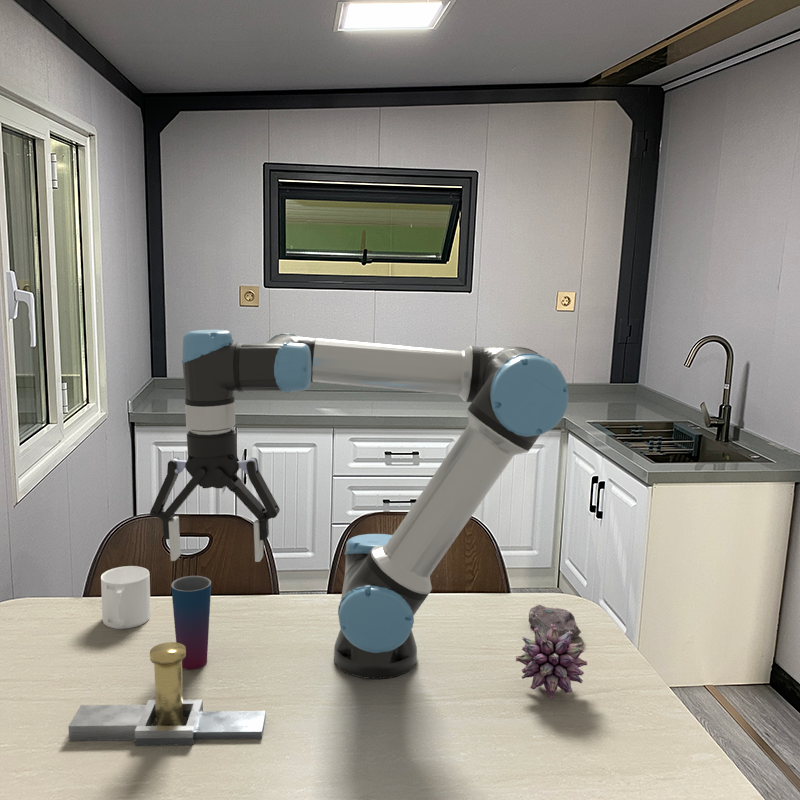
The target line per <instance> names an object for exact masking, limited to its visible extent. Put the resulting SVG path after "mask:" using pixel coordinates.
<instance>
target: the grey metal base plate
mask: <svg viewBox="0 0 800 800" xmlns="http://www.w3.org/2000/svg"><path fill="white" fill-rule="evenodd" d="M266 717H267V716H266V710H210V711H209V710H207V711H206V710H204V700H203V698H201V699H200V698H199V699H198V698H197V699H183V719H184V718H186V719H188V720H187V722H186V725H183V726H156V725H153V724H154V722H155V720H156V707H155V699H148V701H147V703H146V704H80V706H79V708H78V709H77V711H76V713H75V714H74V716H73V718H72V720H71V721H70V723H69V725H68V726H67V727H68V741H69V742H76V741H80V742H81V741H83V742H85V741H87V742H90V741H92V742H93V741H94V742H95V741H134V742H135V744H134V746H136V747H139V746H141V747H142V746H144V747H145V746H193V745H194V742H195V740H256V739H257V740H262V739H263V734H264V730H265V729H264V728H265V723H266Z"/></svg>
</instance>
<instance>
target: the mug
mask: <svg viewBox="0 0 800 800" xmlns="http://www.w3.org/2000/svg"><path fill="white" fill-rule="evenodd" d="M150 581H151V580H150V571H149V569H147V568H145V567H142V566H137V565H126V566H119V567H113V568H111V569H108V570H106V571H104V572H103V573H102V574H101V576H100V586H101V587H100V588H101V589H100V590H101V611H102V612H101V614H102V617H101V618H102V622H103V624H104V626H106V627H108V628H110V629H116V630H117V629H118V630H124V629H132V628H135V627H139V626H141V625H144V624H145V623H147V622H148V621H149V620H150V619H151V618H150V617H151V582H150Z"/></svg>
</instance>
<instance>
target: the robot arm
mask: <svg viewBox="0 0 800 800" xmlns="http://www.w3.org/2000/svg"><path fill="white" fill-rule="evenodd" d="M232 336H233V335H232V333H231V332H230V330H225V329H197V330H192V331H191V330H190V331H188V332H186V333H185V334H184V335H183V338H182V360H181V364H182V370H183V371H182V372H183V385H184V386H183V387H184V407H185V427H186V429H188V431H187V433H186V443H187V445H186V446H187V459H186V460H185V459H180V458H179V457H177V456H175V457H173V458H171V460H169V461H168V462H167V469H166V473H167V474H166V475H165V476H166V477H165V479H164V480H163V483H162V484H161V487H160V489H159V492H158V493H157V495H156V498H155V500H154V503H153V505H152V507H151V509H150V511H149V516H151V517H152V518H159V519H161V521H162V529H163V530H162V531H163V538H164V540H169V551H170V552H169V554H170V555H169V556H170V561H171V562H175V561H177V560H178V559H179V557H180V556H181V553H182V552H181V549H182V548H181V536H180V535H181V534H180V518H179V515H178V516H174V515H175V514H176V512H178V510H179V509H180V507H181V506H182V504H183V503H184V502H185V501H186V500H187V499H188V497H189V496H190V495H191V494H192V493H193V492H194V490H195V489H196V488H197V486H199V487H202V489H210V488H215V489H223V488H225V487H226V488H227V489H228V490H229V491H231V492H232V493H233V494H234V495H235V496H236V497H237V498H238V499H239V501H241V502H242V504H243V505H244V506H245V507H246V508H247V510H249V511H250V512H251V513H252V514H253V516H254V517H255V520H254V521H253V541H254V562H257V563H260V562H261V561H262V559H263V558H264V541H267V539H268V538H269V534H270V530H269V529H270V527H269V523H270V522H269V520H270V519H275V518H276V517H277V516H278V515H279V513H280V506H279V505H278V503H277V501H276V499H275V497H274V496H273V494H272V492H271V490H270V488H269V487H268V484H267V483H266V481H265V479H264V477H263V475H262V474H261V472H260V469H259V463H258V462H259V461H258V459H257V457H251V458H250V459H246V460H245V459H244V460H239V458H238V453H237V451H238V450H237V431H236V430H235V428H234V427H235V426H236V406H235V404H236V403H235V392H239V393H243V392H268V393H269V392H270V393H271V392H273V393H275V392H276V393H277V392H279V393H281V392H283V393H287V394H289V393H291V392H303V391H307V390H308V389H309V388H310V387H311V383H322V384H323V383H324V384H335V385H346V386H357V387H365V388H376V389H377V388H378V389H390V390H398V391H399V390H400V391H408V392H409V391H410V392H420V393H421V392H422V393H431V394H442V395H444V394H445V395H451V396H452V395H453V396H454V395H455V396H459V398H460V399H462V401H463V402H466V403H470V405H468V408H467V409H466V415H467V419H468V424H467V426H466V427H465V429H464V430H463V431H462V434H461V435H460V437H459V438H458V439H457V440H456V442H455V443H454V445H453V447H452V448H451V449H450V451H449V453H448V454H447V455H446V457H445V458H444V460H443V461H442V462H441V464H440V465H439V467H438V468H437V470H436V471H435V473H434V474H433V475H432V477H431V478H430V480H429V482H428V483H427V485H426V486H425V487H424V488H423V491H422V492H421V493H420V494H419V496H418V498H417V499H416V501H415V502H414V503H413V505H412V506H411V508H410V509H409V511H408V512H407V513H406V515H405V516H404V517H403V519H402V521H401V523H400V524H399V525H398V527H397V528H396V530H395V531H394V533H393V534H387V533H366V534H359V535H356V536H353V537H351V538H349V539H348V540H346V544H345V551H344V555H345V565H344V567H345V568H344V570H345V571H344V578H343V583H342V592H341V599H340V602H339V605H338V608H337V609H338V610H337V615H338V620H339V621H338V622H339V626H340V629H339V631H338V634H337V638H336V640H335V643H334V647H333V660H334V663H335V664H336V666H337V667H338V668H339V669H340V670H342V671H343V672H345V673H347V674H349V675H351V676H355V677H359V678H363V679H373V680H375V679H377V680H378V679H390V678H394V677H397V676H400V675H403V674H405V673H407V672H409V671H410V670H411V669H413V667H414V666H415V665H416V664H417V660H418V659H417V656H418V646H417V642H416V639H415V636H414V633H413V627H414V624H415V623H414V622H415V618H414V616H415V615H416V613H417V612H418V610H419V609H420V607H421V606H422V605H423V603H424V601H426V599H427V598H428V596H429V595H430V593H431V592H432V588H433V587H432V582H431V575H432V573H433V572H434V571H435V569H436V568H437V566H438V565H439V563H440V562H441V560H442V559H443V558H444V556H445V555H446V554H447V552H448V551H449V549H450V548H451V547H452V545H453V543H454V542H455V541H456V539H457V537H459V534H460V533H461V532H462V530H463V529H464V527H465V526H466V525H467V524H468V522H469V521H470V519H471V517H472V516H473V515H474V514H475V512H476V510H477V509H478V507H480V505H481V503H482V502H483V500H484V499H485V497H486V496H487V495H488V493H490V491H491V489H492V488H493V486H494V485H495V483H496V482H497V480H498V479H499V478H500V476H501V475H502V473H503V472H504V471H505V469H506V467H507V466H508V465H509V463H510V462H511V460H512V459H513V457H514V456H517V455H521V454H526V453H529V452H530V450H531V449H532V447H533V446H534V444H535V443H536V442H537V440H538V439H539V438H540V436H541V435H543V434H545V433H547V432H550V431H551V430H552V429H554V428H555V427H556V426H557V425H558V424H559V423H560V421H562V419H563V417H564V415H565V413H566V411H567V408H568V405H569V396H570V395H569V388H568V383H567V381H566V379H565V377H564V375H563V373H562V371H561V370H560V369H559V367H558V366H557V365H556V364H555V363H554V362H553V361H551V360H550V358H546V357H545V356H542V355H541V354H539V353H538V352H536V351H535V350H533V349H531V348H527V347H523V346H495V347H494V346H474V345H468V346H467V347H466V348H464V349H463V350H455V349H454V350H452V349H443V348H442V349H440V348H430V347H429V348H428V347H422V346H421V347H417V346H407V345H398V344H386V343H374V342H366V341H365V342H363V341H362V342H361V341H352V340H342V339H340V340H339V339H330V338H321V337H319V338H318V337H317V338H316V337H315V338H314V337H307V336H305V337H304V336H299V335H296V334H294V333H280V334H276V335H274V336H273V337H271V338H270V339H269V340H267V342H259V343H257V342H254V343H252V342H251V343H242V342H241V343H239V342H234V339H233V337H232ZM184 469H186V471H187V473H188V474H189V475H190V476H191V479H190V480H189V481H188V483H187V484H186V485H185V486H184V488H183V489H182V490H181V491H180V492H179V494H178V495H177V496H176V497H175V499H174V500H173V501H172V503H170V505H169V506H168V507H167V508H165V506H166V503H167V502H168V499H169V497H170V495H171V493H172V490H173V488H174V486H175V484H176V482H177V478H178V477H179V475H180V474H181V473H182V472H183V470H184ZM240 469H241V470H242V471H243V473H244V474H246V475H247V476H248V479H249V481H250V483H251V485H252V486H253V488H254V490H255V492H256V494H257V496H258V497H259V499H260V501H259V499H257V497H255V495H254V494H253V493H252V492H251V491H250V490H249V488H248V487H247V486H246V485H245V484H244V483H243V481H242V479H241V478H240V477H239V476H238V474H237V473H238V471H239V470H240Z"/></svg>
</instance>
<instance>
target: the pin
mask: <svg viewBox="0 0 800 800" xmlns="http://www.w3.org/2000/svg"><path fill="white" fill-rule="evenodd" d="M185 657H186V647H185V646H184V645H183V644H181V643H177V642H176V641H170V642H169V641H168V642H163V643H159V644H156V645H155V646H153V647H152V648H150V651H149V660H150V662H151V663H153V665H154V666H153V667H154V669H153V670H154V698H155V699H154V700H155V707H156V718H155V726H184V718H183V700H184V698H183V696H184V695H183V694H184V693H183V668H182V660H183V659H184V658H185Z"/></svg>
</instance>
